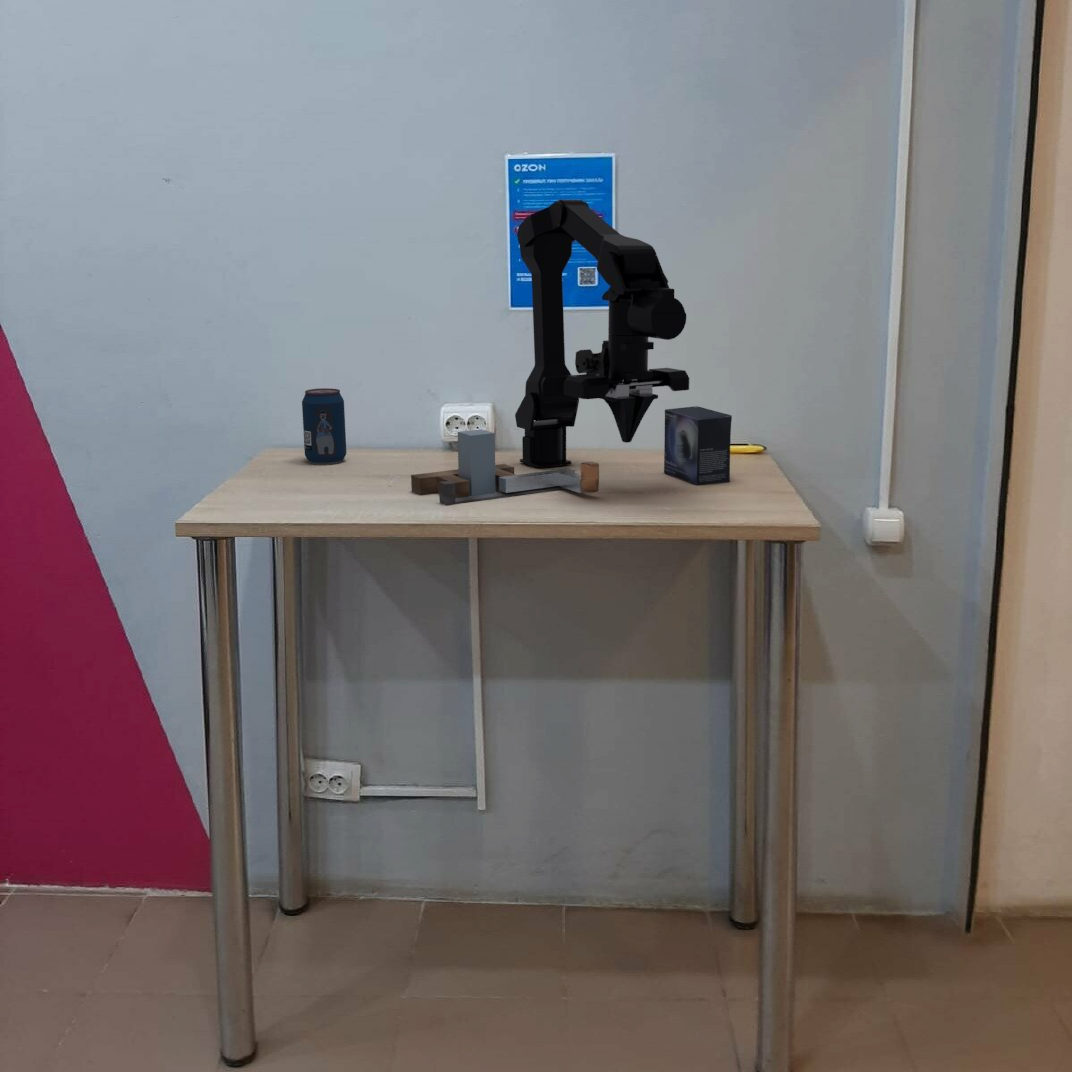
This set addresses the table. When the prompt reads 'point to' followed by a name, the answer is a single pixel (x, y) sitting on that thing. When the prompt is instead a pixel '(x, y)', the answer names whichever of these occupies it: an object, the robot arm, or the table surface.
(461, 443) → the slate blue cuboid
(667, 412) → the small box
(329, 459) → the soda can
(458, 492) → the mount
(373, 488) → the table surface
